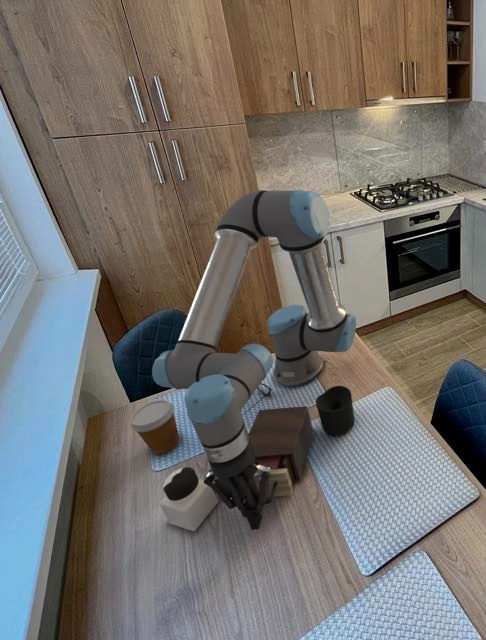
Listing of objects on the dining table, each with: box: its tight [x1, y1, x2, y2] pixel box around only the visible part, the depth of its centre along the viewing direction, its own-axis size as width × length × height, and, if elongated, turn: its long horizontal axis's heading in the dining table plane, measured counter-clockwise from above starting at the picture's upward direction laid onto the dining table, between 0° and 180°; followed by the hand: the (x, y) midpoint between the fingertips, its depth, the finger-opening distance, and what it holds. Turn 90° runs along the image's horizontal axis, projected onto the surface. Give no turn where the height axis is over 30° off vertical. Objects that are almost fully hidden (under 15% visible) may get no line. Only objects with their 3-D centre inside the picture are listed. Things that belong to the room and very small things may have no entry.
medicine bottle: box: [159, 466, 219, 532], centre depth 90 cm, size 7×7×12 cm
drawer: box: [247, 456, 295, 505], centre depth 96 cm, size 18×11×8 cm, turn 4°
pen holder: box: [315, 385, 355, 438], centre depth 112 cm, size 9×9×10 cm
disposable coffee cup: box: [129, 399, 180, 455], centre depth 107 cm, size 10×10×12 cm
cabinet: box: [248, 405, 314, 482], centre depth 103 cm, size 15×13×10 cm
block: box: [259, 456, 285, 470], centre depth 97 cm, size 5×5×5 cm
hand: (257, 523), depth 88 cm, fingers closed
